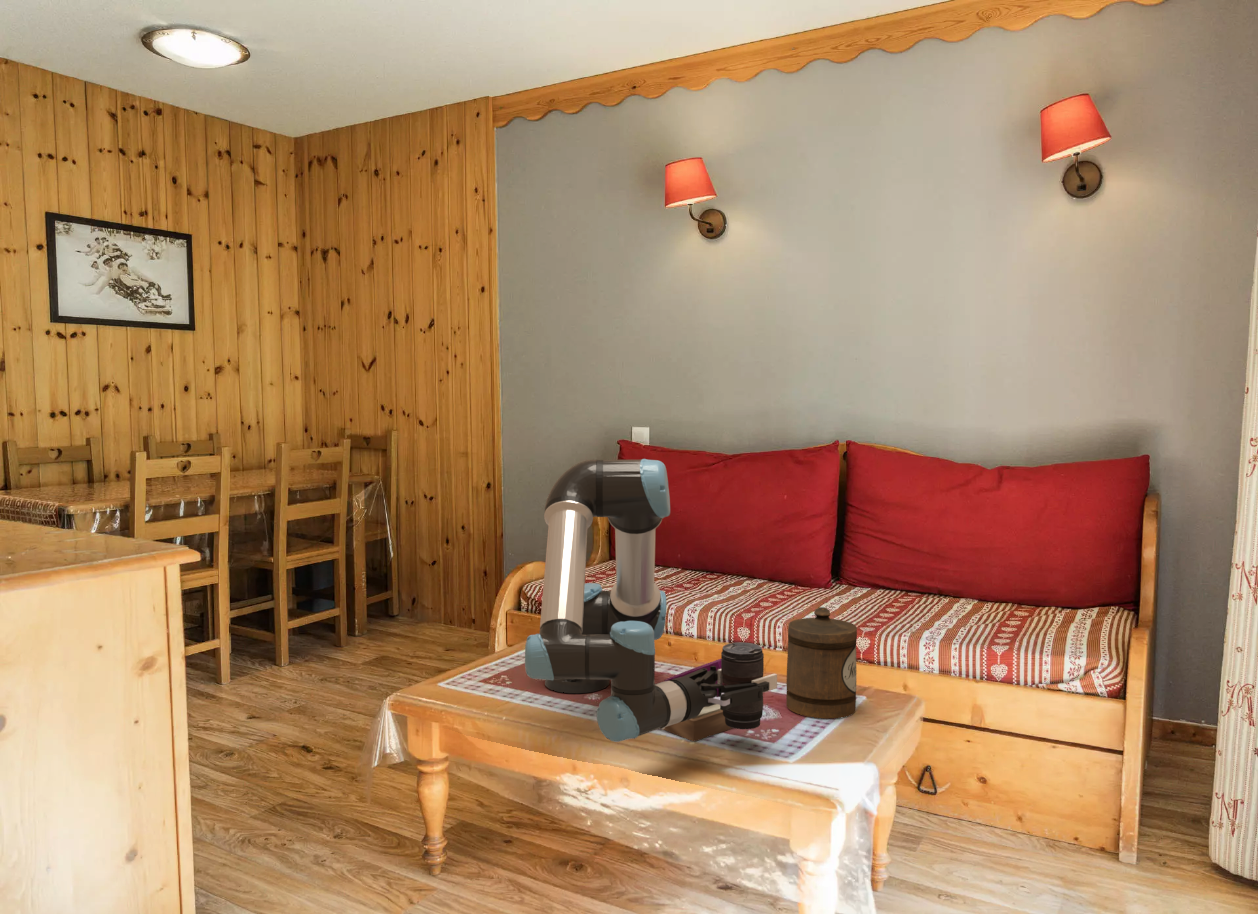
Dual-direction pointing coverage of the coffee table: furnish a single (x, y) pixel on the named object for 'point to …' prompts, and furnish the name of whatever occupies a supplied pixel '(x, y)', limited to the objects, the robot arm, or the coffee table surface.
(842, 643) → the wooden container
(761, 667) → the camera lens
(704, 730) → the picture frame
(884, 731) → the coffee table surface
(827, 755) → the coffee table surface
